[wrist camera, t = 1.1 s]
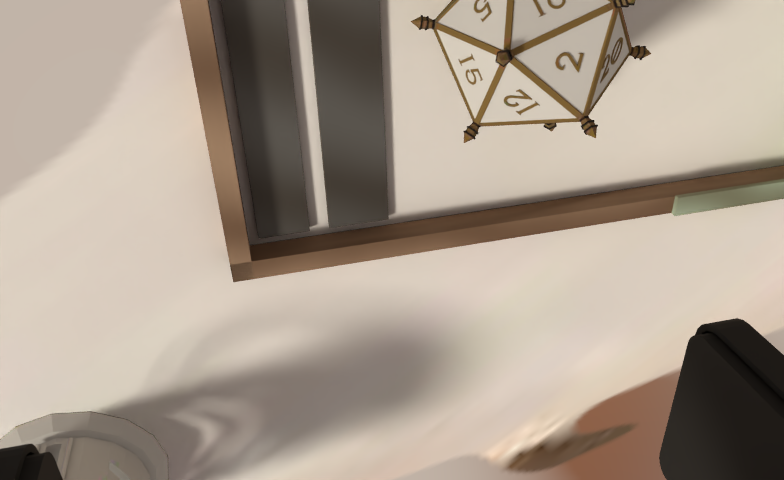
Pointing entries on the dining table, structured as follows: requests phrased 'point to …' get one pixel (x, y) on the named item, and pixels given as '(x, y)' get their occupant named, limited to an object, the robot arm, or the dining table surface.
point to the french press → (93, 446)
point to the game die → (533, 58)
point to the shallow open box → (365, 150)
